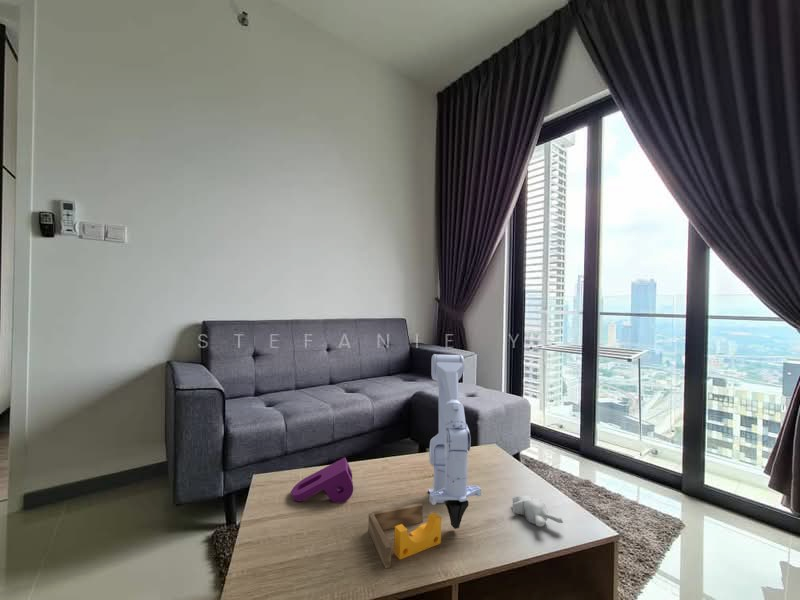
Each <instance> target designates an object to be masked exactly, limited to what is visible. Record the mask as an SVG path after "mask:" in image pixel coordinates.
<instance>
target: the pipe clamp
mask: <svg viewBox="0 0 800 600" xmlns="http://www.w3.org/2000/svg"><path fill="white" fill-rule="evenodd" d="M441 543H442V517H441V516H440V514H437V513H436V512H432V513H429V514H428V519H427V522H425V523H423V524H420V525H418V527H416V529H414V530H413V531H412V530H411V531H410V532H409V533H408V529H407V527H405V526H403V525H402V524H400V525H397V526H395V528H394V546H393V548H394V549H393V553H394V555H395V556H396V557H397V558H398V559H399V560H402V559H405V558H408V557H410V556H413V555H415V554H418V553H420V552H422V551H425V550H428V549H430V548H433V547H435V546H437V545H440V544H441Z"/></svg>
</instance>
